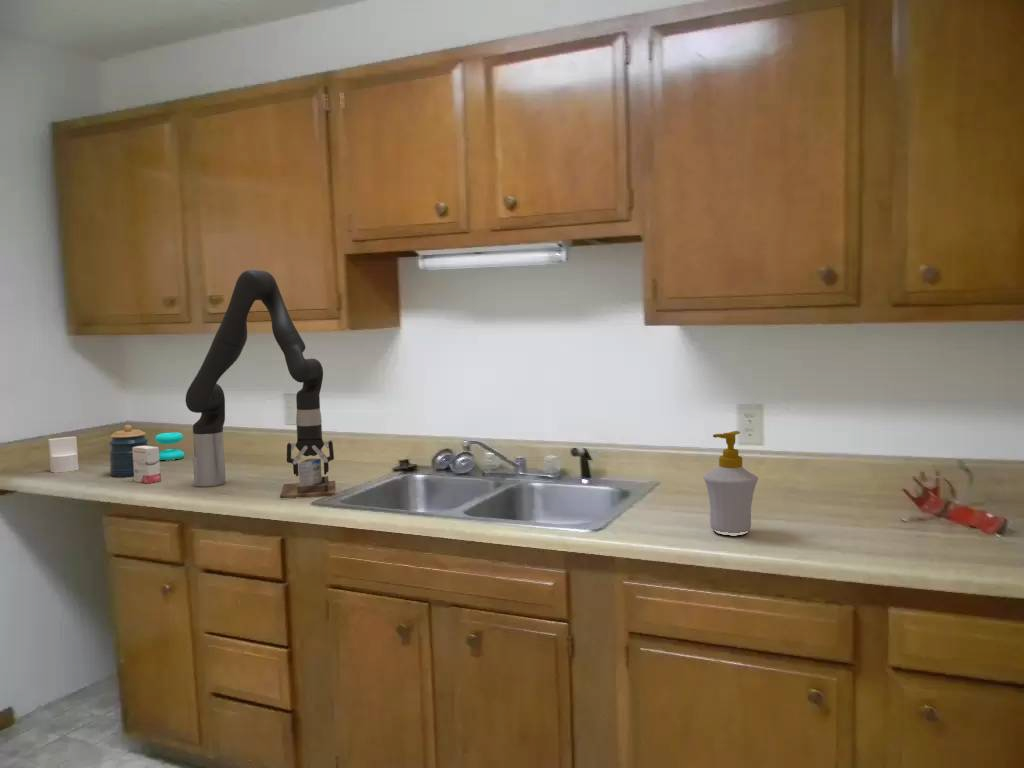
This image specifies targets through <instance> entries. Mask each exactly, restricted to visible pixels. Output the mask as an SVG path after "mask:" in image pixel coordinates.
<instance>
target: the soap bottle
mask: <svg viewBox="0 0 1024 768" xmlns="http://www.w3.org/2000/svg"><path fill="white" fill-rule="evenodd" d="M739 434H741V432H740V431H739V430H734V431H730V432H723V433H715V434H713V435H712V437H713V438H719V439H725V443H726V445H727V448H725V449H723V451H722V455H720V456H719V457H718V467H716V468H714V469H713V470H712V471H708V472H706V473H705V474H704V475H703V479H704V482H705V485H706V489H707V494H708V500H709V505H710V506H709V515H710V517H709V525H710V528H712V529H713V530H716V531H720V532H728V533H740V532H746V531H749V532H750V530H751V527H752V503H753V497H754V494H755V493H754V492H755V490H756V485H757V483H758V481H759V477H758V476H757V475H756V474H754V473H752V472H750V471H748V470H747V469H746V468H744V467H743V457H742V456H740V455H739V450H738V449H737V448H735V447H734V446H735V444H736V435H739ZM712 529H711V530H712ZM713 530H712V531H713Z"/></svg>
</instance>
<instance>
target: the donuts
mask: <svg viewBox="0 0 1024 768" xmlns="http://www.w3.org/2000/svg"><path fill="white" fill-rule="evenodd" d="M183 438H184V435H183V433H181V432H177V431H176V432H162V433H158V434H157V435H155V441H156V442H157V443H158V444H162V445H172V444H177V443H180V442H181V441H183ZM184 456H185V453H184V451H183V450H181V449H177V448H169V449H164V450H159V460H172V461H174V460H173V459H179V458H181V459H183V458H184ZM182 457H183V458H182ZM179 460H180V459H179Z"/></svg>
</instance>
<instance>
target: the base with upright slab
mask: <svg viewBox="0 0 1024 768" xmlns="http://www.w3.org/2000/svg"><path fill="white" fill-rule="evenodd" d="M77 442H78V440H77V436H66V437H65V436H64V437H56V438H48V451H49V463H50V466H49V467H50V473H51V472H66V473H68V472H67V471H73V472H75V471H74V470H77V471H79V470H78V469H79V457H78V455H79V453H78V443H77Z"/></svg>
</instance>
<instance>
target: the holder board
mask: <svg viewBox="0 0 1024 768" xmlns="http://www.w3.org/2000/svg"><path fill="white" fill-rule="evenodd" d="M335 493H336V481H335V480H329V476H328V475H326V476H322V485H310V486H300V484H299V482H294V483H292V482H291V483H283V485H282V488H281V492H280V494H279V499H280V498H292V499H297V498H296V497H307V498H319V497H320V498H322V497H333V496H332V495H335V496H336V494H335Z"/></svg>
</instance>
